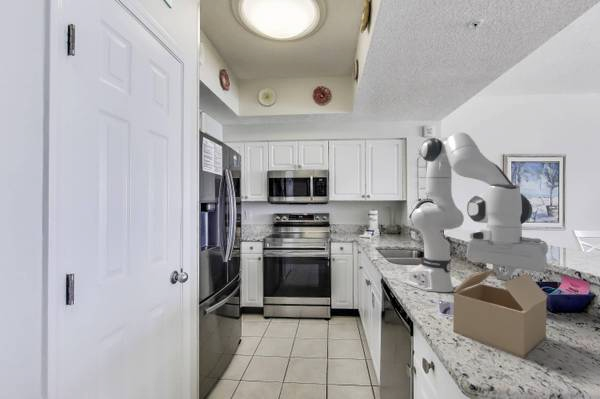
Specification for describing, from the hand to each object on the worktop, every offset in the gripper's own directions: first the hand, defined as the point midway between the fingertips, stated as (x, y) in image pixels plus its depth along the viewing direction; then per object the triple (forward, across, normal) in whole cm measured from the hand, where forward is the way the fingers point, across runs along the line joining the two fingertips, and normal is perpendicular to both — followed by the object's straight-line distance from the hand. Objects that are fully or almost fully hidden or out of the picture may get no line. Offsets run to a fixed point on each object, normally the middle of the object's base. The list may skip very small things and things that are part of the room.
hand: (503, 280), depth 85 cm
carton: (+17, +1, 0) cm, 17 cm away
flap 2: (+2, -5, 0) cm, 6 cm away
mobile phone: (+18, +20, -8) cm, 28 cm away
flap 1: (+2, +8, 0) cm, 8 cm away
